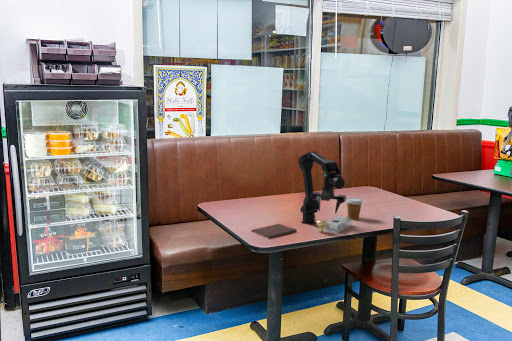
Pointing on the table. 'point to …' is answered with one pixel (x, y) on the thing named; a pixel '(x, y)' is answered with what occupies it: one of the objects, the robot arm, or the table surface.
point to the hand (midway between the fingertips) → (327, 212)
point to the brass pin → (321, 225)
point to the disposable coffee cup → (354, 208)
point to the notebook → (274, 231)
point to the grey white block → (337, 224)
